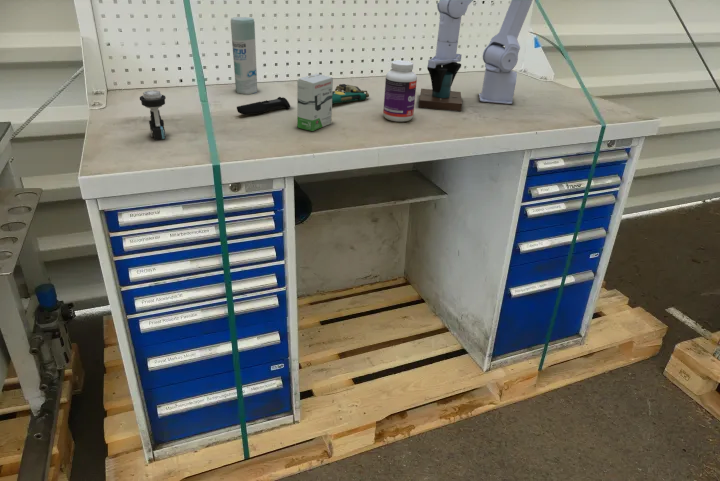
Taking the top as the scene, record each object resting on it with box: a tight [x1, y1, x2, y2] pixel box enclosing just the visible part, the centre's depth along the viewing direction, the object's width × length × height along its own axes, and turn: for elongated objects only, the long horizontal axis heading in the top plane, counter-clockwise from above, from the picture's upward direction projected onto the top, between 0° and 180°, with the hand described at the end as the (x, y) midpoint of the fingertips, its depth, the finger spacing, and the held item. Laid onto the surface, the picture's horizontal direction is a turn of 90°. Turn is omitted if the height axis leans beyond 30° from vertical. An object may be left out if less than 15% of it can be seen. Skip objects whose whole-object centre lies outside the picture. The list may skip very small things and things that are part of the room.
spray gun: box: [332, 83, 370, 105], centre depth 152 cm, size 4×17×15 cm
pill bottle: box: [382, 59, 418, 123], centre depth 136 cm, size 8×8×14 cm
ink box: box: [296, 73, 334, 132], centre depth 129 cm, size 9×5×12 cm, turn 148°
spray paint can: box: [230, 16, 258, 95], centre depth 150 cm, size 6×6×20 cm
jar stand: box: [418, 88, 463, 112], centre depth 154 cm, size 13×12×2 cm
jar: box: [432, 71, 453, 98], centre depth 151 cm, size 5×5×7 cm
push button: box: [139, 90, 167, 141], centre depth 118 cm, size 7×5×10 cm
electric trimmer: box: [236, 96, 291, 116], centre depth 138 cm, size 4×16×3 cm, turn 133°
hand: (441, 89), depth 152 cm, fingers closed on jar, 5 cm apart
